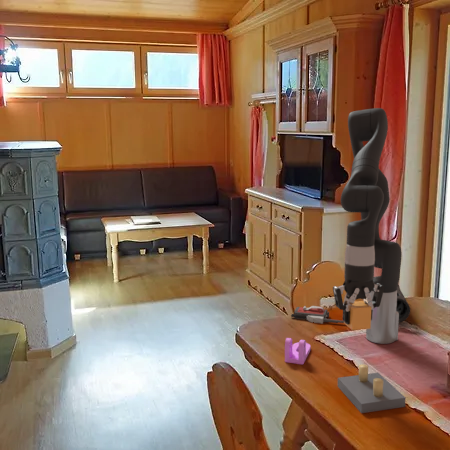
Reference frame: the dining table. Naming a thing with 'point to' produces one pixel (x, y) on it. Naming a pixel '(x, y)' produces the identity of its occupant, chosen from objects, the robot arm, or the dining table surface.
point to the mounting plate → (370, 391)
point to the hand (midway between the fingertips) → (357, 322)
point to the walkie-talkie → (313, 314)
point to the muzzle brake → (402, 306)
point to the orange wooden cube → (360, 316)
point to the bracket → (292, 353)
